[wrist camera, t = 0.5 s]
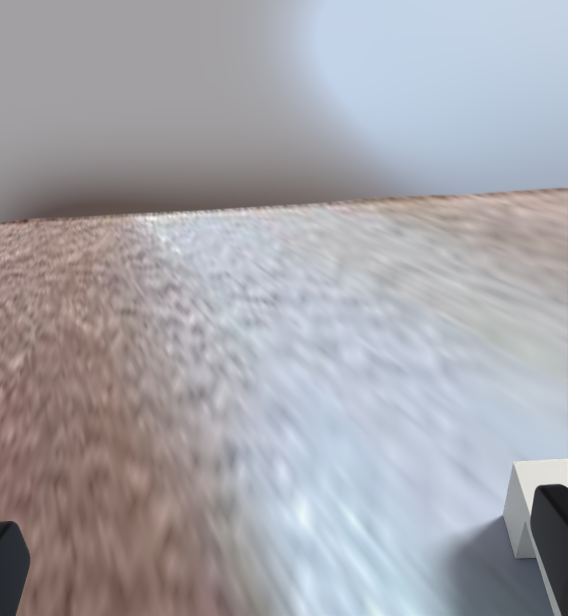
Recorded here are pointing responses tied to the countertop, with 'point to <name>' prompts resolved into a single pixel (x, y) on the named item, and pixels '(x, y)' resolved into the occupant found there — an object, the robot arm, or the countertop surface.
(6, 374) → the countertop surface
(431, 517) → the countertop surface
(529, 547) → the shelf
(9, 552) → the robot arm
